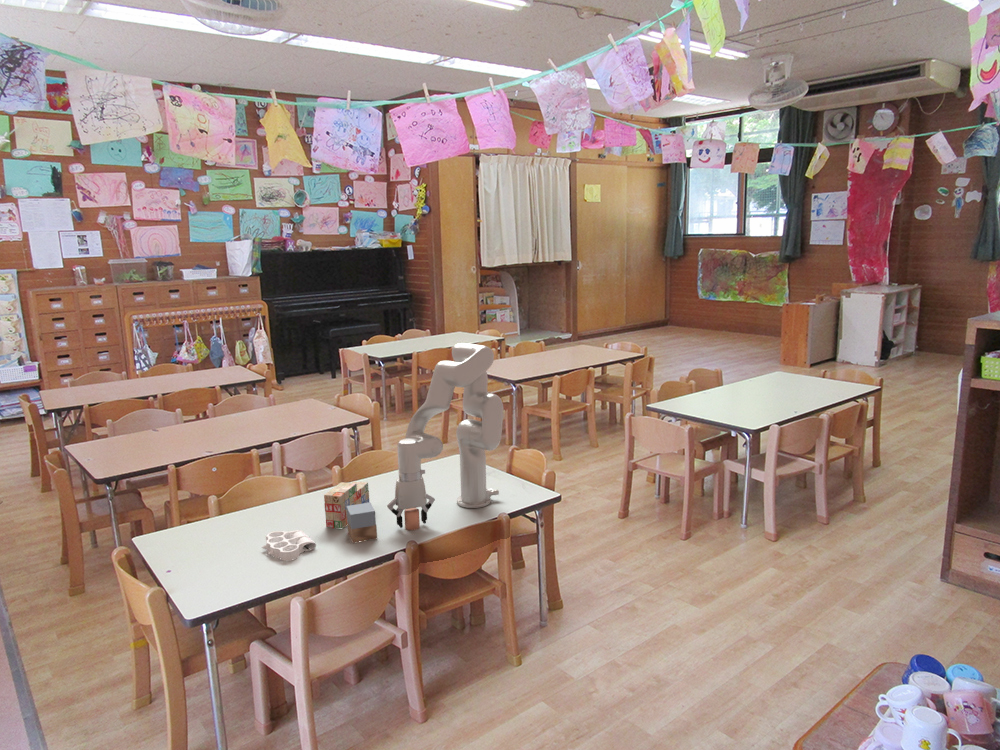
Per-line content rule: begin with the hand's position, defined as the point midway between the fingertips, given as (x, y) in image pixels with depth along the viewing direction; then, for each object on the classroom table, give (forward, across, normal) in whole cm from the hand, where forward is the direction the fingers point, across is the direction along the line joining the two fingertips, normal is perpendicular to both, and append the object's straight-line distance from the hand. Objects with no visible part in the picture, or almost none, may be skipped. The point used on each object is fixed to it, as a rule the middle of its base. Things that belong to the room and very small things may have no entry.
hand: (412, 523), depth 239 cm
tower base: (+1, +17, 0) cm, 17 cm away
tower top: (-4, +17, 0) cm, 18 cm away
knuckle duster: (+2, +41, -1) cm, 41 cm away
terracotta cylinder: (+1, 0, 0) cm, 1 cm away
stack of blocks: (+2, +18, -19) cm, 26 cm away
